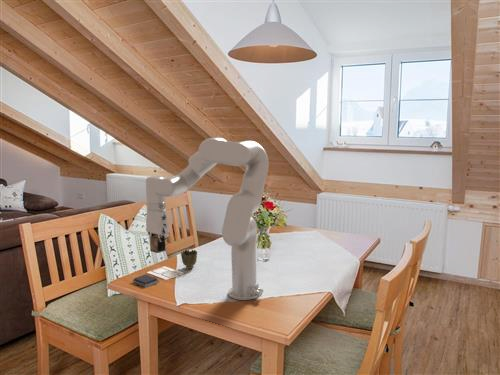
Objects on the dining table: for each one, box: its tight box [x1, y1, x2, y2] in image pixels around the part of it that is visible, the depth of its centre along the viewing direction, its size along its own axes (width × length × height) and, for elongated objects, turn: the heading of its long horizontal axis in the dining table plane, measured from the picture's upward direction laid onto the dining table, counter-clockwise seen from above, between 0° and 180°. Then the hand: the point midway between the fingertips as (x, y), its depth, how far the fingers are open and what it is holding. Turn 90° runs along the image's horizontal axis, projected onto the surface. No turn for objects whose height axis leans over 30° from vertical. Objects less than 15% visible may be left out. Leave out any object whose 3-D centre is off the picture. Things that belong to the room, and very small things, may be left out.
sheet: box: [146, 266, 185, 281], centre depth 190 cm, size 14×10×1 cm
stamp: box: [149, 234, 166, 254], centre depth 176 cm, size 4×4×7 cm
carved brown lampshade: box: [180, 249, 198, 270], centre depth 195 cm, size 8×7×8 cm
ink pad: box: [132, 273, 160, 288], centre depth 179 cm, size 9×7×2 cm
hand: (157, 248), depth 176 cm, fingers closed on stamp, 4 cm apart
